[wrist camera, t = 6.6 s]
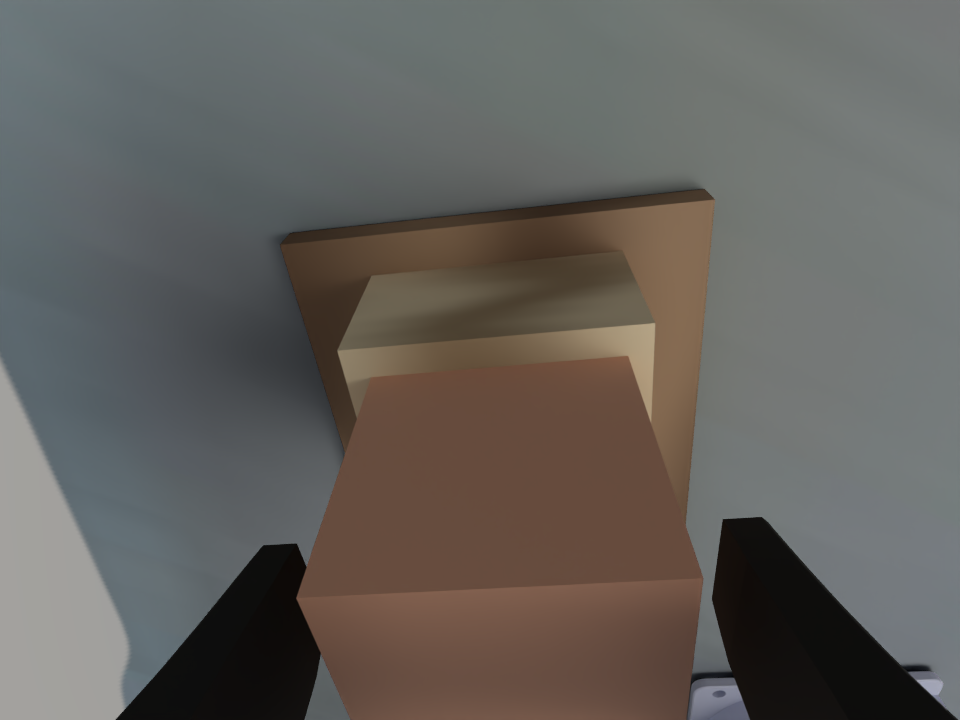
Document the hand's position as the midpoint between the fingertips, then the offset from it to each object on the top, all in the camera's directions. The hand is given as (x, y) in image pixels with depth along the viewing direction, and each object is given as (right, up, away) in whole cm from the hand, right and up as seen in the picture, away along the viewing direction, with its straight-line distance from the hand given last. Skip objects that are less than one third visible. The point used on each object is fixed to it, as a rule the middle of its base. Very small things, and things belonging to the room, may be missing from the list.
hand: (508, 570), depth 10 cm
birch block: (0, +3, +5) cm, 6 cm away
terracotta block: (0, +1, +3) cm, 3 cm away
